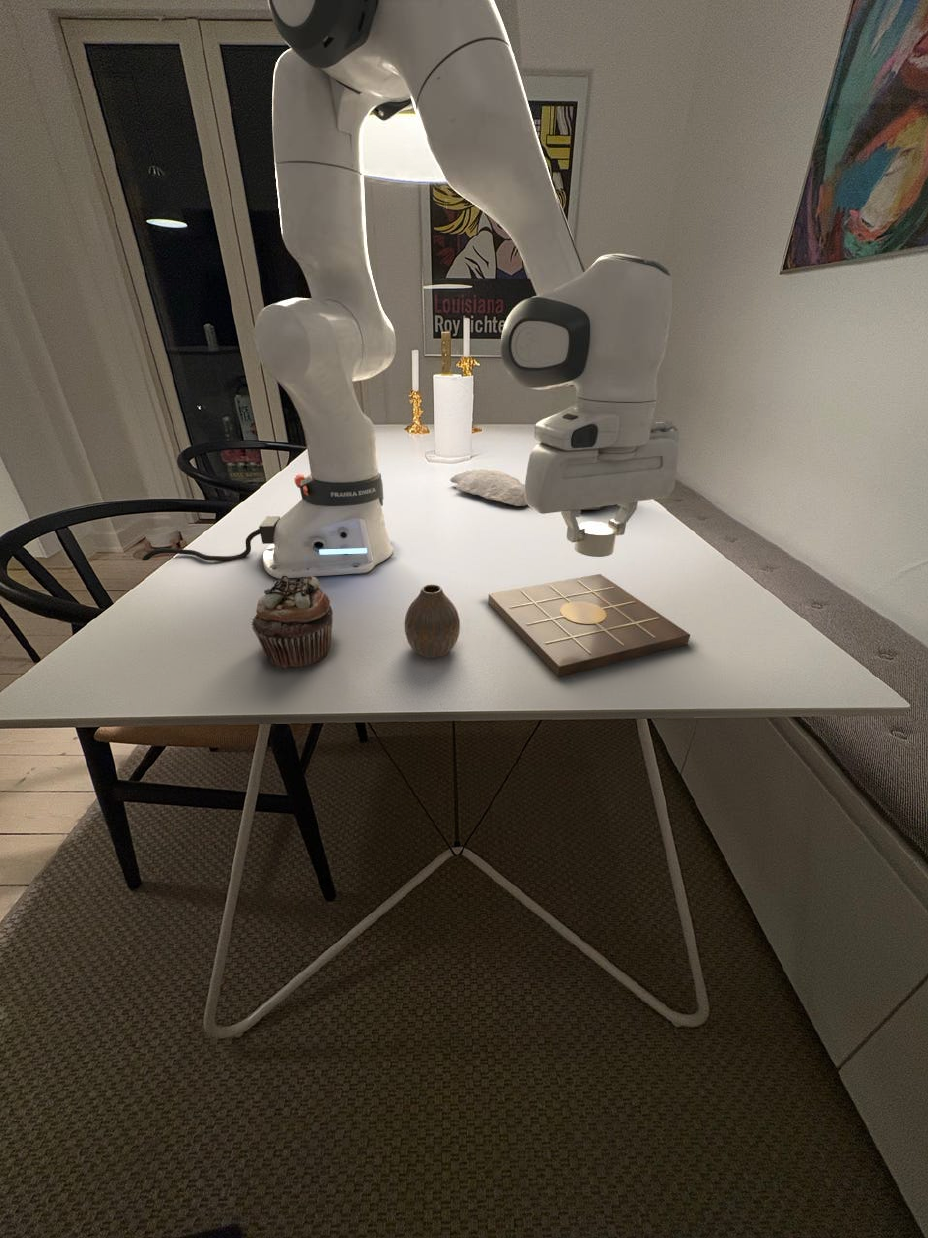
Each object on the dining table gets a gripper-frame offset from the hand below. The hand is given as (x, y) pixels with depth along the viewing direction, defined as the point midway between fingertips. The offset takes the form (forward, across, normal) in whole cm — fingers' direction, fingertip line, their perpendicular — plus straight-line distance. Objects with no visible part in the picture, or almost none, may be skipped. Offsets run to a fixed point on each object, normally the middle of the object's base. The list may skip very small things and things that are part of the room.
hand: (595, 537), depth 66 cm
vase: (+13, +22, -1) cm, 26 cm away
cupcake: (+13, +38, -7) cm, 41 cm away
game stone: (+2, 0, 0) cm, 2 cm away
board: (+13, 0, 0) cm, 13 cm away
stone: (+13, -15, -61) cm, 64 cm away
